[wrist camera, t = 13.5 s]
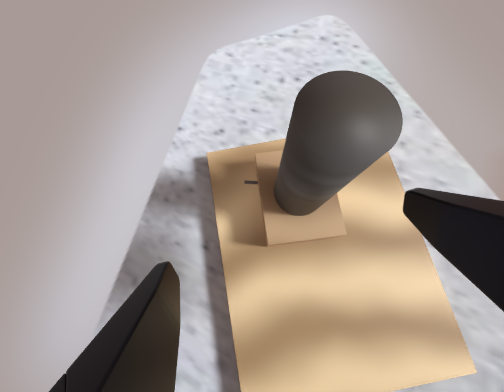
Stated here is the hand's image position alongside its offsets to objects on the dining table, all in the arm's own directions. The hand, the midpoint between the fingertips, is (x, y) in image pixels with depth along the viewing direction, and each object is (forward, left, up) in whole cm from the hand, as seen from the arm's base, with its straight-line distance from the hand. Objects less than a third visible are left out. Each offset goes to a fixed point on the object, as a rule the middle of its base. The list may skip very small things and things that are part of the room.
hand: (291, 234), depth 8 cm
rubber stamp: (+3, -2, -10) cm, 11 cm away
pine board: (-1, -4, -11) cm, 12 cm away
